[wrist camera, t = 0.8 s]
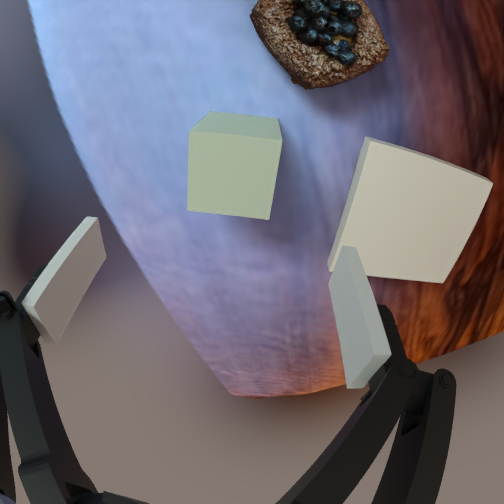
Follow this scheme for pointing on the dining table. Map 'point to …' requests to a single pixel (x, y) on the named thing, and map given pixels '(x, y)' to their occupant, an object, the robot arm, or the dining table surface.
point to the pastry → (320, 39)
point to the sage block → (233, 164)
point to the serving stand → (408, 213)
